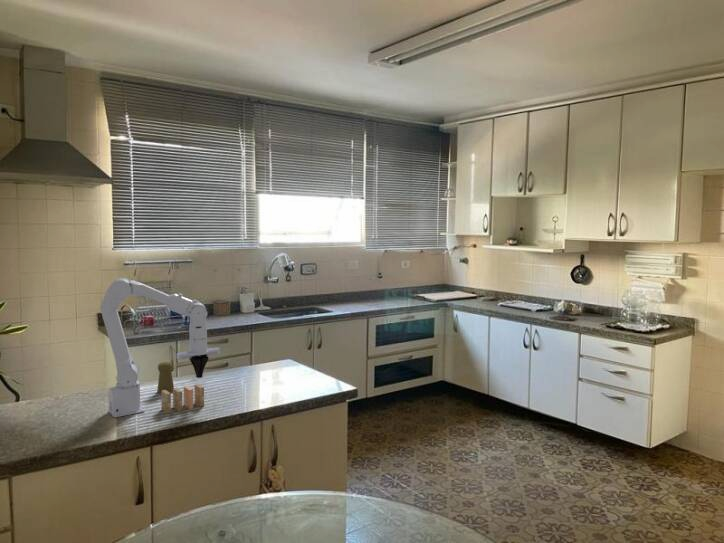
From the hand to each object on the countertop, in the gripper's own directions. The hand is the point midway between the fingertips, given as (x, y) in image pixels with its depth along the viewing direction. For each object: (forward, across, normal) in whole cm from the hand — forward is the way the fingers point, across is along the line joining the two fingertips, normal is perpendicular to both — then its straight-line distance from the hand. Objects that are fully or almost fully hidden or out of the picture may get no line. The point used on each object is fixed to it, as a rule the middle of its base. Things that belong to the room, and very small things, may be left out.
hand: (199, 377), depth 188 cm
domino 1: (+10, +12, 0) cm, 15 cm away
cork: (+10, +5, -21) cm, 24 cm away
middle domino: (+10, +8, 0) cm, 12 cm away
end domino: (+10, 0, 0) cm, 10 cm away
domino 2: (+10, +4, 0) cm, 10 cm away
